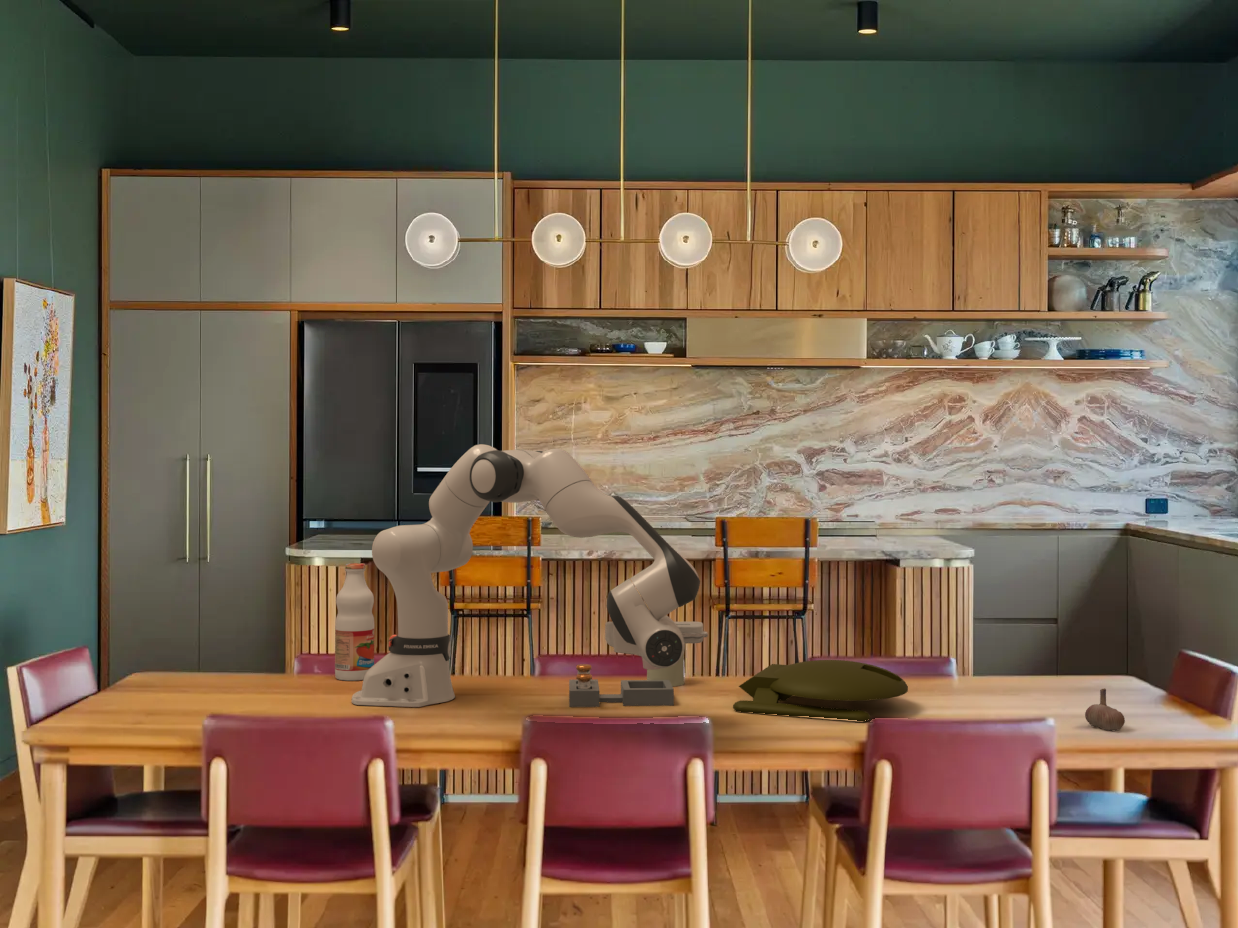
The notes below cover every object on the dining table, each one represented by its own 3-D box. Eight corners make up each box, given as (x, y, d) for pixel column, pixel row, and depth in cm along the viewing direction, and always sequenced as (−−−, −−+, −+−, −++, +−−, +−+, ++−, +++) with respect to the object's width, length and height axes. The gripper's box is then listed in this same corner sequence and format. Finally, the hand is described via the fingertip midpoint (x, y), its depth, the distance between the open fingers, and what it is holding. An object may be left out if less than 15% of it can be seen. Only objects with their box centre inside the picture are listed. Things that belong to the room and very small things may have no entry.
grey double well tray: (569, 706, 238) (569, 690, 238) (569, 694, 251) (569, 679, 251) (674, 706, 239) (674, 690, 239) (668, 694, 252) (668, 679, 252)
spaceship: (729, 714, 234) (730, 667, 234) (764, 687, 262) (765, 646, 262) (898, 728, 221) (898, 680, 221) (915, 699, 249) (915, 656, 250)
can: (692, 684, 264) (692, 634, 264) (661, 688, 259) (661, 637, 259) (669, 678, 272) (669, 629, 272) (638, 682, 267) (638, 632, 267)
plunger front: (576, 702, 240) (576, 676, 240) (576, 698, 243) (576, 673, 243) (592, 702, 240) (592, 676, 240) (591, 698, 243) (591, 673, 243)
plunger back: (576, 691, 246) (576, 666, 246) (576, 688, 249) (576, 664, 249) (591, 691, 246) (591, 666, 246) (591, 688, 249) (591, 664, 249)
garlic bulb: (1082, 723, 225) (1082, 683, 225) (1121, 725, 223) (1121, 686, 223) (1087, 731, 218) (1087, 690, 218) (1127, 733, 216) (1127, 693, 216)
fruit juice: (341, 673, 276) (342, 562, 276) (378, 674, 275) (379, 562, 275) (329, 680, 266) (330, 565, 266) (367, 681, 266) (368, 565, 266)
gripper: (709, 620, 219) (700, 611, 233) (606, 620, 218) (604, 612, 232) (709, 651, 219) (700, 641, 232) (606, 652, 218) (604, 642, 232)
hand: (651, 626), depth 232 cm, fingers closed on smoothie, 6 cm apart
